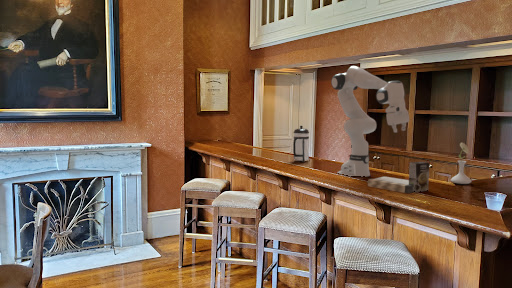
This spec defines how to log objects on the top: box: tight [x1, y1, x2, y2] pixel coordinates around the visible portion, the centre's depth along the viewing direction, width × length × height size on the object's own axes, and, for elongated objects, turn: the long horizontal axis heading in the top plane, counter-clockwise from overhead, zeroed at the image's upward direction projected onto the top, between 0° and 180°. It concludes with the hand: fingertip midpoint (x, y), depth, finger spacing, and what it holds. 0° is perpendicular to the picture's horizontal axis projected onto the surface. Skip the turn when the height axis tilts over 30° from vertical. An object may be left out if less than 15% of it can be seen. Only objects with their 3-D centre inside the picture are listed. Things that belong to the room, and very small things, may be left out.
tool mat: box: [375, 176, 430, 185], centre depth 255 cm, size 30×12×1 cm, turn 41°
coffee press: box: [292, 125, 311, 164], centre depth 340 cm, size 17×16×30 cm
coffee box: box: [408, 161, 430, 193], centre depth 232 cm, size 9×6×16 cm
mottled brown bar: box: [367, 178, 414, 194], centre depth 237 cm, size 26×4×4 cm, turn 41°
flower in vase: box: [450, 142, 472, 185], centre depth 250 cm, size 13×11×25 cm
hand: (399, 131), depth 243 cm, fingers open, 8 cm apart
